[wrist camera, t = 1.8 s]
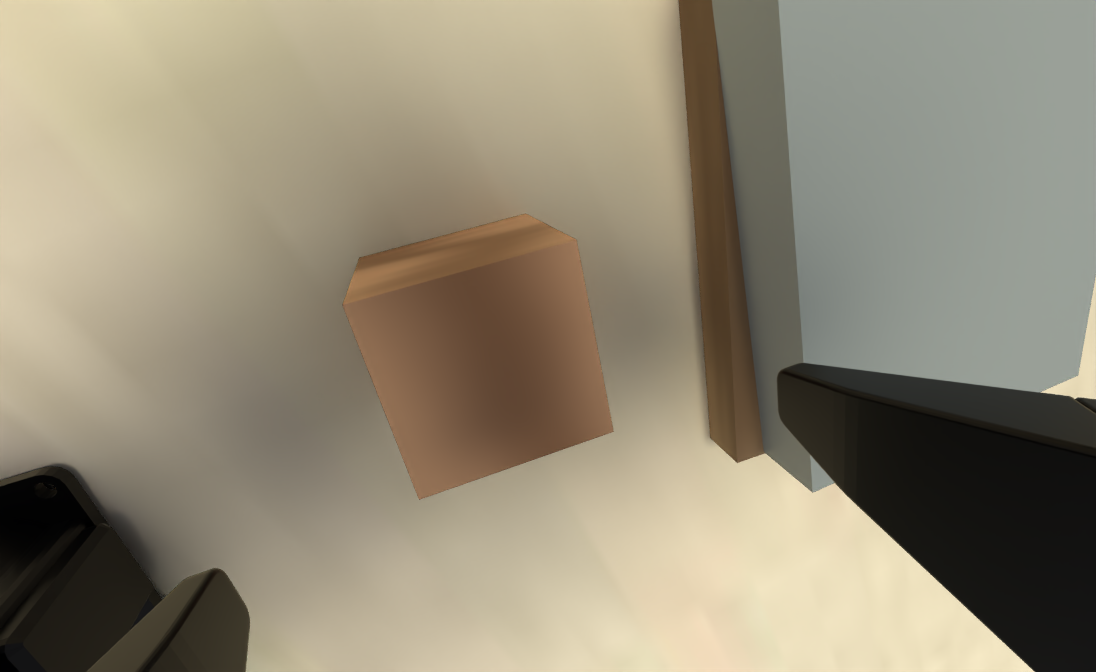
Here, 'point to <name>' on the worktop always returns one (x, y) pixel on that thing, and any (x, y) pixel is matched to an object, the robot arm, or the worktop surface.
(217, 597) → the robot arm
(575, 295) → the terracotta block
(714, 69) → the walnut slab
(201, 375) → the worktop surface
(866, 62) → the slate grey slab
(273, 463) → the worktop surface
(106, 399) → the worktop surface
